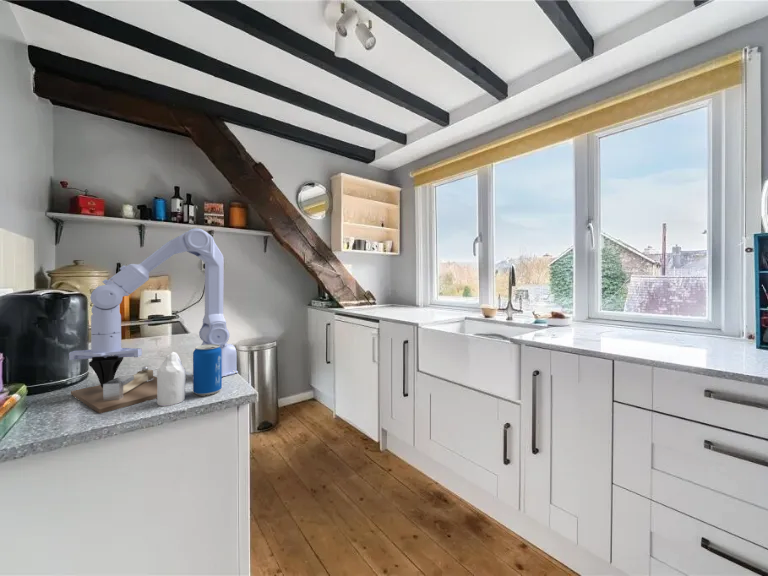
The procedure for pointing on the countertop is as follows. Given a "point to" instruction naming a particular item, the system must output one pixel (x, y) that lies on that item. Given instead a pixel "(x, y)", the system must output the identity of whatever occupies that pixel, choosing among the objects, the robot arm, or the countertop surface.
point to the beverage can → (207, 369)
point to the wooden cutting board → (133, 396)
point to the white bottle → (171, 381)
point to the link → (138, 380)
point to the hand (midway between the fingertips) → (106, 386)
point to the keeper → (118, 386)
